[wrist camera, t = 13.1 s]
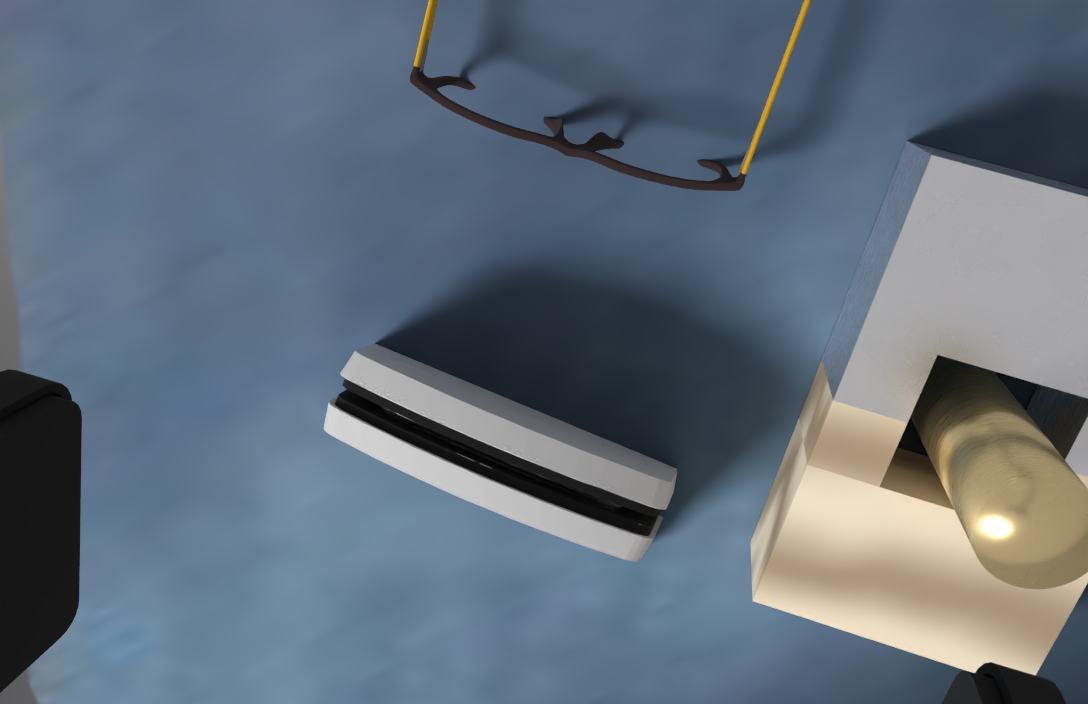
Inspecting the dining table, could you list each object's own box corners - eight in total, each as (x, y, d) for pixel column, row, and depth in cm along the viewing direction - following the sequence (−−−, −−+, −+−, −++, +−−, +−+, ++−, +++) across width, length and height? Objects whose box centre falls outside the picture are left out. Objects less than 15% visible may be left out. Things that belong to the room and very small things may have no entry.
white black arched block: (344, 426, 46) (273, 448, 36) (378, 341, 46) (315, 340, 36) (644, 552, 45) (654, 611, 35) (680, 466, 45) (700, 501, 35)
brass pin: (926, 343, 39) (1003, 462, 28) (1017, 370, 39) (1132, 501, 28) (891, 423, 41) (952, 566, 30) (979, 449, 40) (1074, 604, 29)
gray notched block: (906, 140, 37) (931, 154, 32) (1206, 221, 36) (1276, 247, 31) (821, 359, 40) (833, 400, 36) (1090, 439, 39) (1138, 492, 35)
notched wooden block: (821, 359, 40) (833, 400, 36) (1090, 439, 39) (1138, 492, 35) (750, 542, 44) (752, 600, 39) (995, 619, 43) (1026, 690, 38)
